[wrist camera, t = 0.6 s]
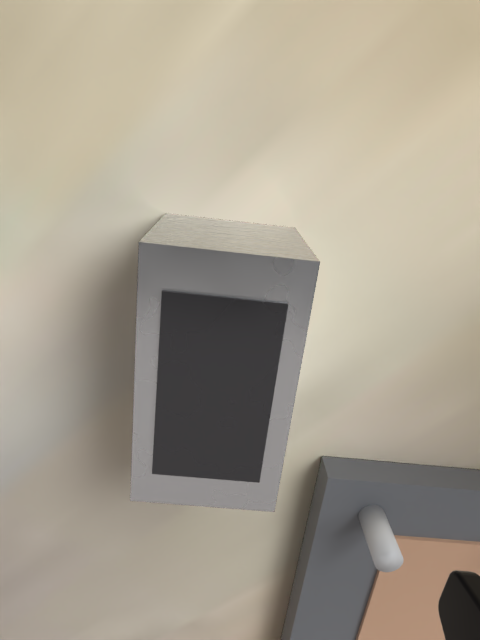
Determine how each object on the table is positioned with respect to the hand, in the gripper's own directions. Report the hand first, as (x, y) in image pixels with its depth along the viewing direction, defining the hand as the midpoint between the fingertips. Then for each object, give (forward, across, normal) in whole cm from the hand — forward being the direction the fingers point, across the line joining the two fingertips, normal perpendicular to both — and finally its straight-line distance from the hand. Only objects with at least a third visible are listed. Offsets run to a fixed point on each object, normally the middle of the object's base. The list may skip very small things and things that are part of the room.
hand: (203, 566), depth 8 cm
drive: (+12, 0, 0) cm, 12 cm away
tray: (+12, -12, +14) cm, 22 cm away
